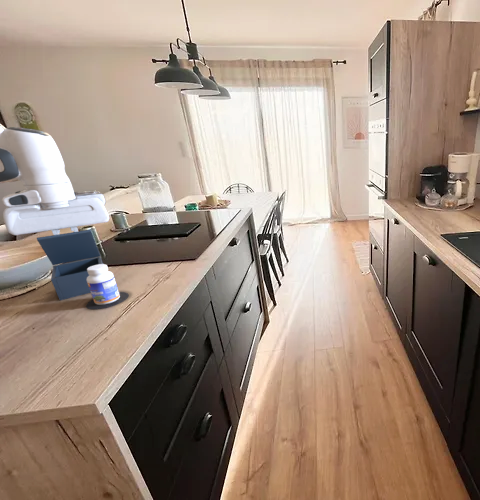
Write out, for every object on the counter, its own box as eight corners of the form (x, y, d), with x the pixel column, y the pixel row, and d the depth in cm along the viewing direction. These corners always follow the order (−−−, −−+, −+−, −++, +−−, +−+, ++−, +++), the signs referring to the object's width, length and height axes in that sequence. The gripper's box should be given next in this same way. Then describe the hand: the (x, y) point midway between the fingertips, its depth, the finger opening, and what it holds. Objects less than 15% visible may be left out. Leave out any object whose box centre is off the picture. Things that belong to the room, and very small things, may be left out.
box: (110, 289, 83) (103, 267, 81) (60, 302, 77) (50, 279, 74) (107, 276, 91) (100, 256, 89) (61, 286, 85) (53, 265, 82)
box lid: (91, 231, 80) (90, 229, 80) (37, 240, 73) (36, 237, 73) (100, 256, 89) (99, 253, 89) (52, 265, 82) (52, 263, 82)
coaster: (80, 314, 71) (79, 312, 71) (94, 297, 79) (94, 295, 79) (123, 306, 74) (123, 305, 74) (133, 291, 82) (132, 289, 82)
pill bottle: (89, 304, 75) (76, 270, 71) (110, 293, 80) (99, 261, 76) (105, 306, 74) (93, 272, 70) (125, 296, 78) (115, 263, 75)
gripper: (101, 188, 85) (115, 233, 90) (-4, 197, 72) (19, 248, 77) (102, 191, 80) (117, 237, 85) (-9, 200, 67) (16, 255, 72)
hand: (70, 243), depth 81 cm, fingers closed
